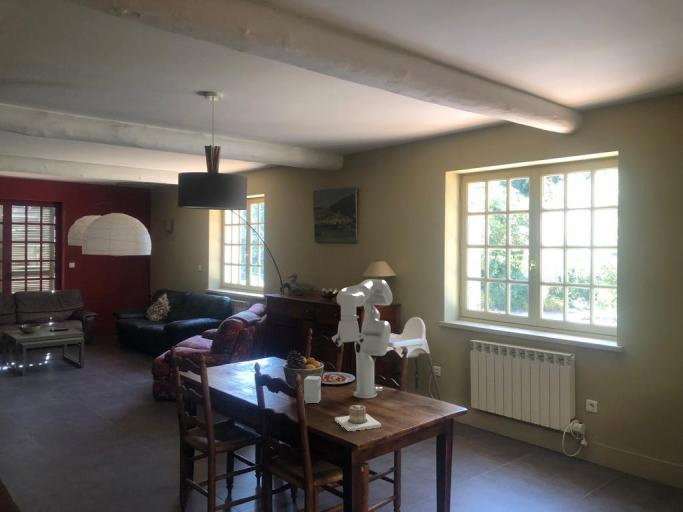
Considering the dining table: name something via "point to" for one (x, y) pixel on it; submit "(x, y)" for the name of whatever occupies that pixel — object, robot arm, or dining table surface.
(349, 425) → the steel post stand
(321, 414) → the dining table surface
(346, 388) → the dining table surface
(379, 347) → the robot arm
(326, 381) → the ceramic plate
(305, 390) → the supplement box
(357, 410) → the beech collar
